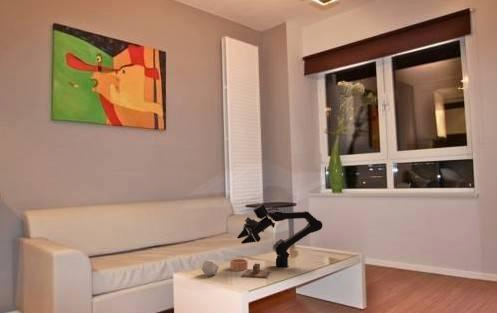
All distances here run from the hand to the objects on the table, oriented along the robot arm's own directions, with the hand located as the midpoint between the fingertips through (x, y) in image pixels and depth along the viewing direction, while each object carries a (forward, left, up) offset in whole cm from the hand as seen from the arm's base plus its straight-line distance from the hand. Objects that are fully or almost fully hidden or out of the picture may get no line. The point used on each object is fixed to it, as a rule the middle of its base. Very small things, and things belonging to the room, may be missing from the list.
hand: (239, 240), depth 209 cm
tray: (-12, +12, -16) cm, 24 cm away
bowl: (0, +2, -16) cm, 16 cm away
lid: (-12, +12, -15) cm, 23 cm away
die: (+12, +17, -16) cm, 26 cm away
